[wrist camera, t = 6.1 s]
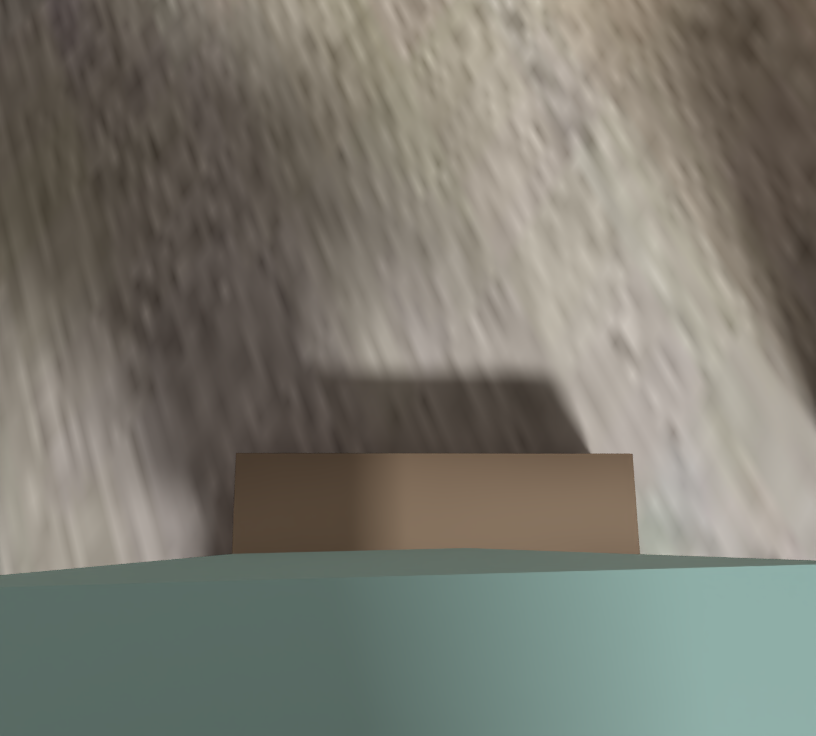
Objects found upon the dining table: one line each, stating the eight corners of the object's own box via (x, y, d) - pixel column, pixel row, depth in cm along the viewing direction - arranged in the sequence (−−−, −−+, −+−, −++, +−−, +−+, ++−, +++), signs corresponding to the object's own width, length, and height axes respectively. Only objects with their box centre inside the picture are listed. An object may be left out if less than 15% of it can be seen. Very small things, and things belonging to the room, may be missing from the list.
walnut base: (619, 844, 22) (664, 893, 19) (233, 864, 20) (216, 920, 18) (595, 463, 24) (632, 453, 21) (248, 463, 23) (235, 453, 20)
